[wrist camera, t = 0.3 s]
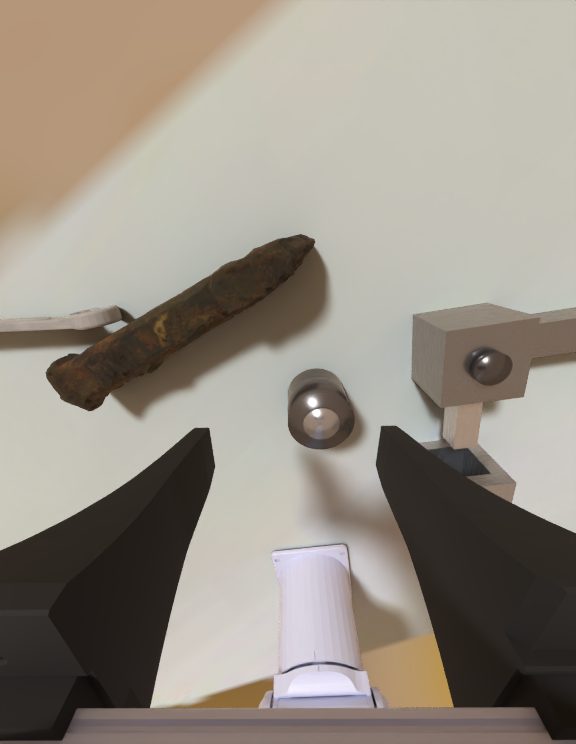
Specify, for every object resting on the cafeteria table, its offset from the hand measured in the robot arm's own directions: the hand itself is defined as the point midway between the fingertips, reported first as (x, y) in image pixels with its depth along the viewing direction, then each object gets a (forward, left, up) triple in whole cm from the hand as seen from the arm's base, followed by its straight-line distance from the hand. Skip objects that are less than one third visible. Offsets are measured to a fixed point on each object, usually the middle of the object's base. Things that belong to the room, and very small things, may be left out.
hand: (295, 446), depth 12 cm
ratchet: (-3, -20, -10) cm, 22 cm away
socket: (-3, -1, -10) cm, 11 cm away
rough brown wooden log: (+5, +7, -10) cm, 13 cm away
